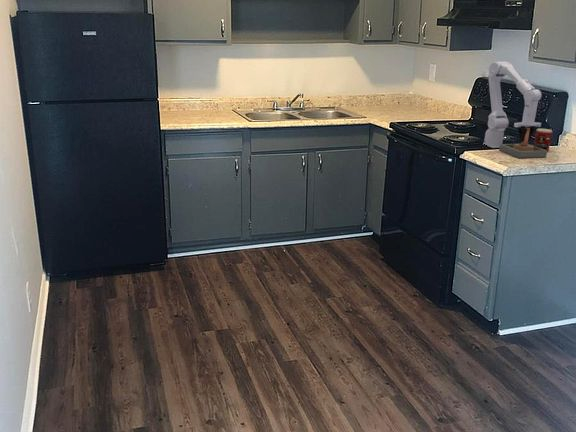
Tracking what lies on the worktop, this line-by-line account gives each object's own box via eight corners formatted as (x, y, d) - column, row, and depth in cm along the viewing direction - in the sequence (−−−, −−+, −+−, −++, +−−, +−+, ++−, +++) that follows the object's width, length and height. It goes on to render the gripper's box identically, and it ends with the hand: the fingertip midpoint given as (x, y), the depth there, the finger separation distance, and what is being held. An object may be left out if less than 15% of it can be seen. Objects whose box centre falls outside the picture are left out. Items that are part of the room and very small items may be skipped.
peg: (519, 145, 298) (522, 127, 295) (524, 145, 299) (527, 127, 296) (523, 146, 296) (526, 128, 293) (528, 146, 297) (531, 128, 294)
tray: (499, 150, 304) (500, 142, 303) (525, 150, 309) (526, 141, 307) (518, 158, 290) (520, 149, 288) (546, 157, 294) (547, 148, 293)
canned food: (531, 150, 308) (535, 130, 304) (534, 148, 314) (538, 127, 310) (546, 153, 304) (550, 132, 300) (549, 150, 310) (553, 129, 306)
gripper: (522, 115, 287) (517, 143, 291) (547, 115, 291) (541, 142, 295) (513, 113, 293) (508, 140, 298) (537, 112, 297) (532, 139, 302)
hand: (524, 141), depth 297 cm, fingers closed on peg, 3 cm apart
